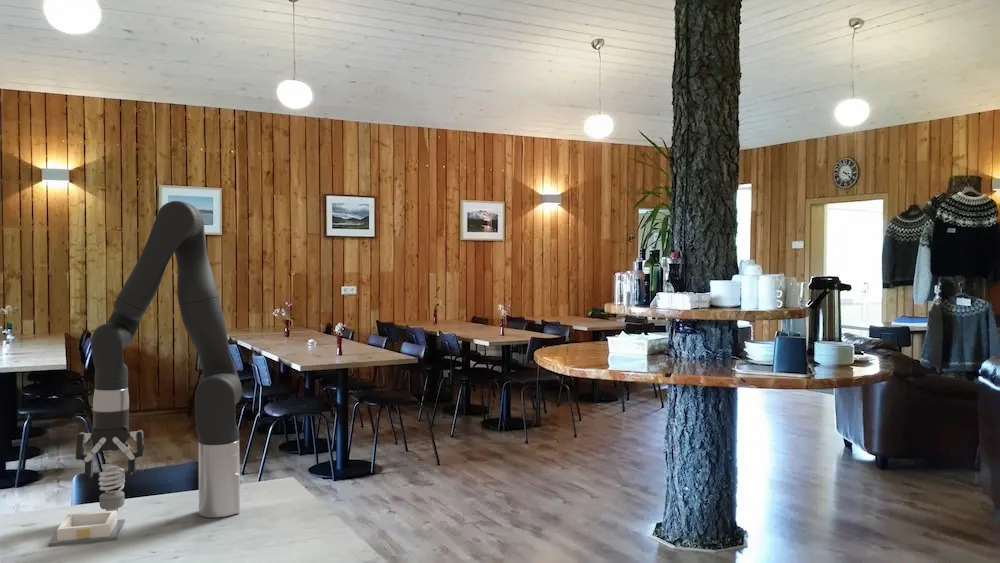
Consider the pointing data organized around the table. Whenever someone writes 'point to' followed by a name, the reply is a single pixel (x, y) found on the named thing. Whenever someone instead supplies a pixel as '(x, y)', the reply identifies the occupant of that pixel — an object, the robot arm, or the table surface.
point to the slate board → (112, 536)
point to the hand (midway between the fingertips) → (110, 475)
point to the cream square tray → (87, 525)
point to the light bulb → (112, 498)
